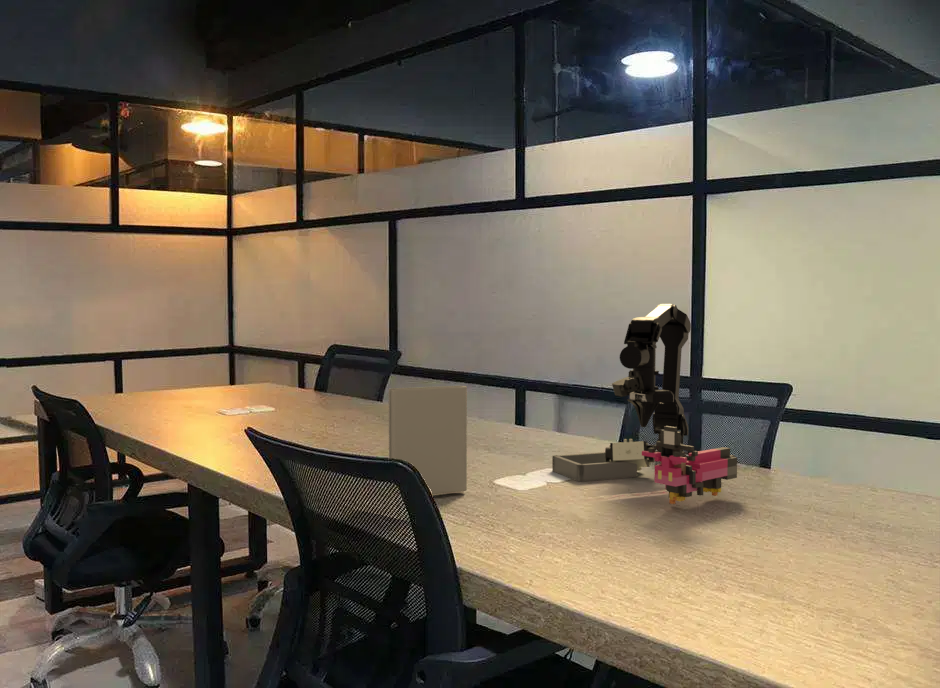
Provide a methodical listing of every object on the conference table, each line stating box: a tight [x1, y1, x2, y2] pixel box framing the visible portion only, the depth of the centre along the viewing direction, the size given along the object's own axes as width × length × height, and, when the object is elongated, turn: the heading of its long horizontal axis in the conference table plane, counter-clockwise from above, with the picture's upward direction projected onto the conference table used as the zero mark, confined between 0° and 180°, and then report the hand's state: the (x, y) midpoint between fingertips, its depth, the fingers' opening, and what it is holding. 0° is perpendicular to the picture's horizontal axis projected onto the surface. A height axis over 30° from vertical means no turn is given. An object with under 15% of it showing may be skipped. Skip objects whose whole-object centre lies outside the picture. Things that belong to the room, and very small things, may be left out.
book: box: [388, 385, 468, 496], centre depth 191 cm, size 18×4×24 cm, turn 116°
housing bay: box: [551, 451, 638, 483], centre depth 213 cm, size 16×14×4 cm
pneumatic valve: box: [604, 438, 656, 472], centre depth 212 cm, size 6×12×12 cm
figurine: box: [642, 426, 738, 505], centre depth 186 cm, size 11×25×17 cm, turn 129°
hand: (643, 426), depth 218 cm, fingers closed
